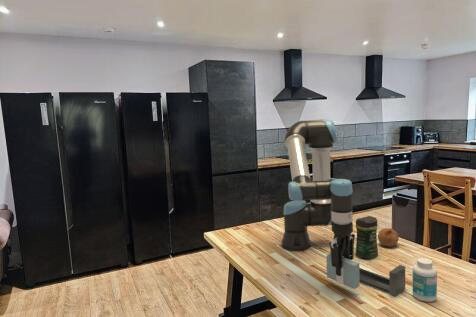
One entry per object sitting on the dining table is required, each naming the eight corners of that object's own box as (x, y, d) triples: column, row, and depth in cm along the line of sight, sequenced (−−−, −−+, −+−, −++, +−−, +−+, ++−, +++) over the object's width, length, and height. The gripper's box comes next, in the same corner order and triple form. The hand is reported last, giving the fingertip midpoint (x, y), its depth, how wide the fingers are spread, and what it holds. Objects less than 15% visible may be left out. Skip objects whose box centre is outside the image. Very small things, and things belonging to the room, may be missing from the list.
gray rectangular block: (326, 277, 124) (326, 255, 123) (331, 274, 126) (331, 252, 125) (354, 289, 115) (354, 265, 114) (359, 285, 117) (359, 262, 115)
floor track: (345, 277, 129) (345, 257, 128) (356, 271, 134) (356, 251, 133) (395, 296, 114) (394, 273, 113) (405, 288, 119) (405, 266, 118)
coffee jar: (366, 261, 143) (366, 221, 141) (353, 255, 150) (352, 217, 148) (381, 256, 147) (380, 217, 145) (367, 250, 154) (366, 213, 152)
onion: (391, 254, 155) (393, 240, 150) (373, 244, 162) (374, 230, 157) (401, 243, 160) (403, 228, 155) (383, 234, 166) (384, 220, 161)
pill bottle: (408, 292, 116) (407, 257, 114) (427, 290, 116) (427, 255, 115) (421, 303, 108) (421, 266, 107) (441, 301, 109) (442, 264, 108)
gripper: (337, 229, 109) (339, 293, 112) (363, 218, 119) (364, 276, 122) (319, 224, 115) (321, 285, 118) (345, 214, 125) (346, 270, 128)
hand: (343, 280), depth 120 cm, fingers closed on gray rectangular block, 3 cm apart
